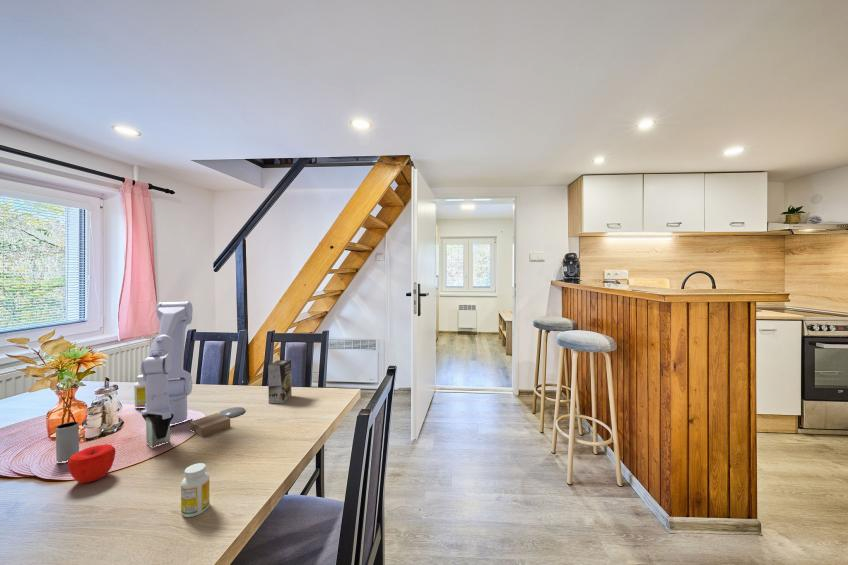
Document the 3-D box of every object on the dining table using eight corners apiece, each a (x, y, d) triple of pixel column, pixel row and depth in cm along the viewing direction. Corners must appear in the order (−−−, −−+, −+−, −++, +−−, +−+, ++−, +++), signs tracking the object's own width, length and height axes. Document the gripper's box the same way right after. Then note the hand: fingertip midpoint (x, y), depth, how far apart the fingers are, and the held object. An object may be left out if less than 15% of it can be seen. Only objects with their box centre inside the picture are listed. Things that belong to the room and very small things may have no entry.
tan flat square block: (189, 430, 115) (189, 421, 115) (217, 420, 123) (217, 412, 123) (202, 437, 111) (202, 428, 111) (230, 426, 118) (230, 418, 118)
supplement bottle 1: (158, 405, 139) (157, 374, 138) (138, 410, 133) (137, 378, 133) (152, 402, 142) (151, 372, 142) (132, 407, 137) (131, 376, 136)
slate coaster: (213, 414, 128) (213, 413, 128) (237, 407, 136) (237, 405, 136) (225, 420, 124) (225, 418, 124) (249, 411, 131) (249, 410, 131)
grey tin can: (82, 457, 99) (81, 422, 99) (62, 465, 95) (61, 429, 94) (73, 454, 100) (72, 420, 100) (52, 462, 96) (51, 427, 96)
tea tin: (146, 444, 106) (145, 417, 106) (164, 438, 110) (163, 412, 110) (152, 448, 103) (151, 420, 103) (170, 442, 107) (169, 415, 107)
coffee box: (283, 403, 140) (282, 365, 139) (268, 403, 140) (267, 365, 139) (292, 395, 149) (291, 359, 148) (277, 395, 149) (277, 359, 149)
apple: (73, 494, 82) (72, 462, 82) (63, 482, 87) (62, 452, 86) (121, 475, 89) (120, 446, 89) (109, 466, 94) (108, 438, 94)
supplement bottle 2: (185, 521, 72) (184, 477, 72) (178, 510, 76) (177, 468, 76) (213, 508, 77) (212, 466, 76) (205, 498, 80) (204, 458, 80)
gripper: (132, 393, 107) (133, 435, 107) (150, 402, 99) (152, 447, 99) (159, 387, 113) (160, 426, 113) (178, 395, 105) (179, 437, 105)
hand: (158, 436), depth 107 cm, fingers closed on tea tin, 5 cm apart
